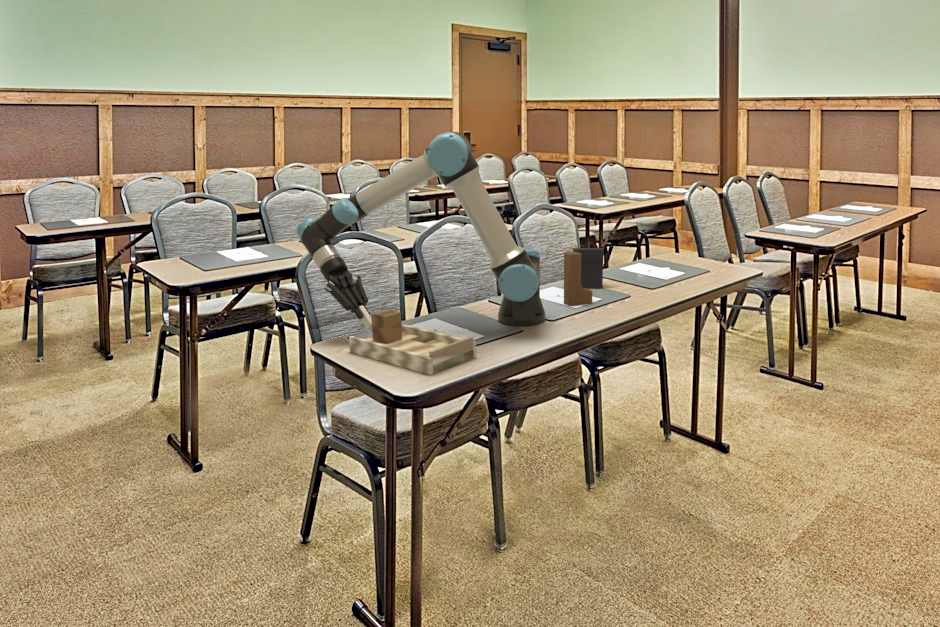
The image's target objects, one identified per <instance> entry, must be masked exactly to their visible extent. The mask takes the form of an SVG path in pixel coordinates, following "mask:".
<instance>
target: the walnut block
mask: <svg viewBox="0 0 940 627" xmlns="http://www.w3.org/2000/svg"><path fill="white" fill-rule="evenodd" d="M370 317H371V320H372V327H371V334H372V335H371V337H372V336H373V341H377V342H381V343H385V344H389V343H392V342H395V341H398V340H401V339H402V325H401V324H402V312H401V311H396V310H392V309H389V308H387V309H383V310H380V311H375V312H372V313H370Z"/></svg>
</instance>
